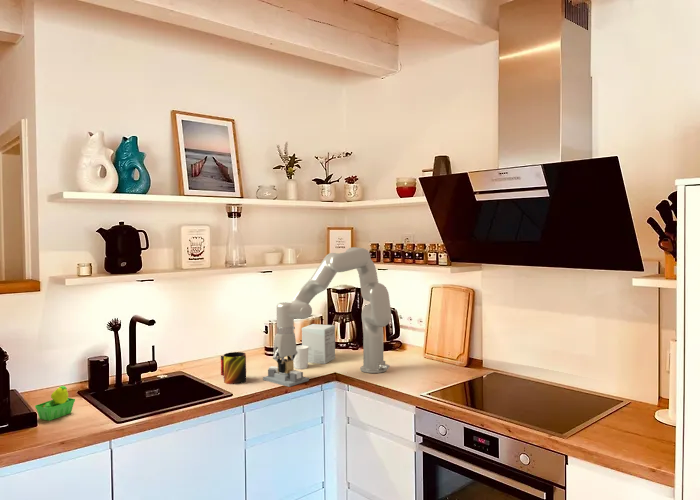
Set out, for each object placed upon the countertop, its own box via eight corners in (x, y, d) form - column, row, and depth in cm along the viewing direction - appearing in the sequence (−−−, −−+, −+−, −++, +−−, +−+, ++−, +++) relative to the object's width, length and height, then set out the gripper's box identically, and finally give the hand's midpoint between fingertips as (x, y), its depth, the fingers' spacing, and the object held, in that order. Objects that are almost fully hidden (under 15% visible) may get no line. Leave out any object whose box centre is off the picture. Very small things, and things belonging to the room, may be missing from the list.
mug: (221, 377, 243) (221, 351, 243) (249, 378, 240) (249, 352, 240) (211, 383, 234) (211, 356, 234) (240, 385, 231) (239, 357, 230)
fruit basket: (61, 409, 200) (60, 380, 200) (79, 412, 197) (78, 382, 197) (33, 420, 190) (33, 388, 189) (51, 423, 187) (51, 391, 186)
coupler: (277, 371, 238) (277, 359, 237) (284, 369, 241) (284, 357, 240) (286, 373, 234) (286, 361, 234) (293, 371, 237) (293, 359, 237)
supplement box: (335, 358, 277) (335, 325, 277) (325, 364, 265) (324, 329, 265) (313, 356, 282) (312, 323, 282) (301, 362, 270) (301, 327, 270)
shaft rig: (308, 380, 236) (308, 369, 236) (289, 386, 227) (288, 375, 227) (281, 373, 248) (281, 363, 248) (261, 379, 239) (261, 368, 239)
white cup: (307, 369, 256) (307, 348, 255) (291, 369, 256) (291, 348, 255) (309, 365, 264) (309, 345, 263) (293, 365, 264) (293, 345, 263)
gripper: (293, 326, 245) (293, 366, 246) (265, 332, 233) (265, 373, 233) (304, 328, 240) (304, 369, 241) (276, 334, 228) (277, 376, 228)
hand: (285, 370), depth 237 cm, fingers closed on coupler, 4 cm apart
